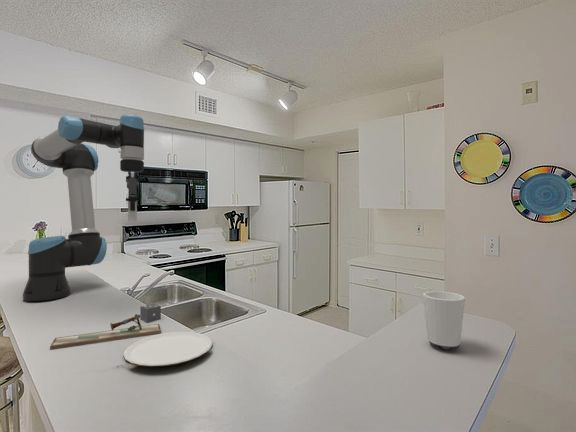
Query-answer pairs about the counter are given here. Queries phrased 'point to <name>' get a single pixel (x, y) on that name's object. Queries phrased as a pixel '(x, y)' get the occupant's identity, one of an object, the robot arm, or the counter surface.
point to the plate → (168, 349)
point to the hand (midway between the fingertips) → (132, 220)
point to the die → (150, 313)
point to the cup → (444, 318)
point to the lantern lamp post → (127, 322)
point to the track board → (104, 336)
